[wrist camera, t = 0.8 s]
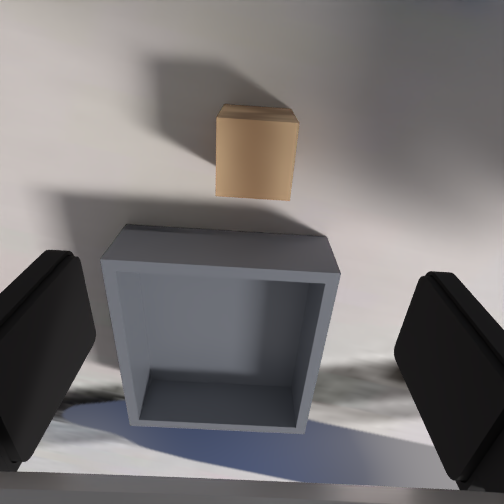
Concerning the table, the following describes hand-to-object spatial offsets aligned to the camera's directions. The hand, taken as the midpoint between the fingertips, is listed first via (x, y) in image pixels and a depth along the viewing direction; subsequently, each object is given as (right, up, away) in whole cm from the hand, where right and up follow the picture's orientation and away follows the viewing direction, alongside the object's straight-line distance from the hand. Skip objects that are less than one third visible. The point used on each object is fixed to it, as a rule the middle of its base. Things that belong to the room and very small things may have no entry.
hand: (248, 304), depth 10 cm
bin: (-3, -5, +26) cm, 27 cm away
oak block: (0, +10, +18) cm, 20 cm away
